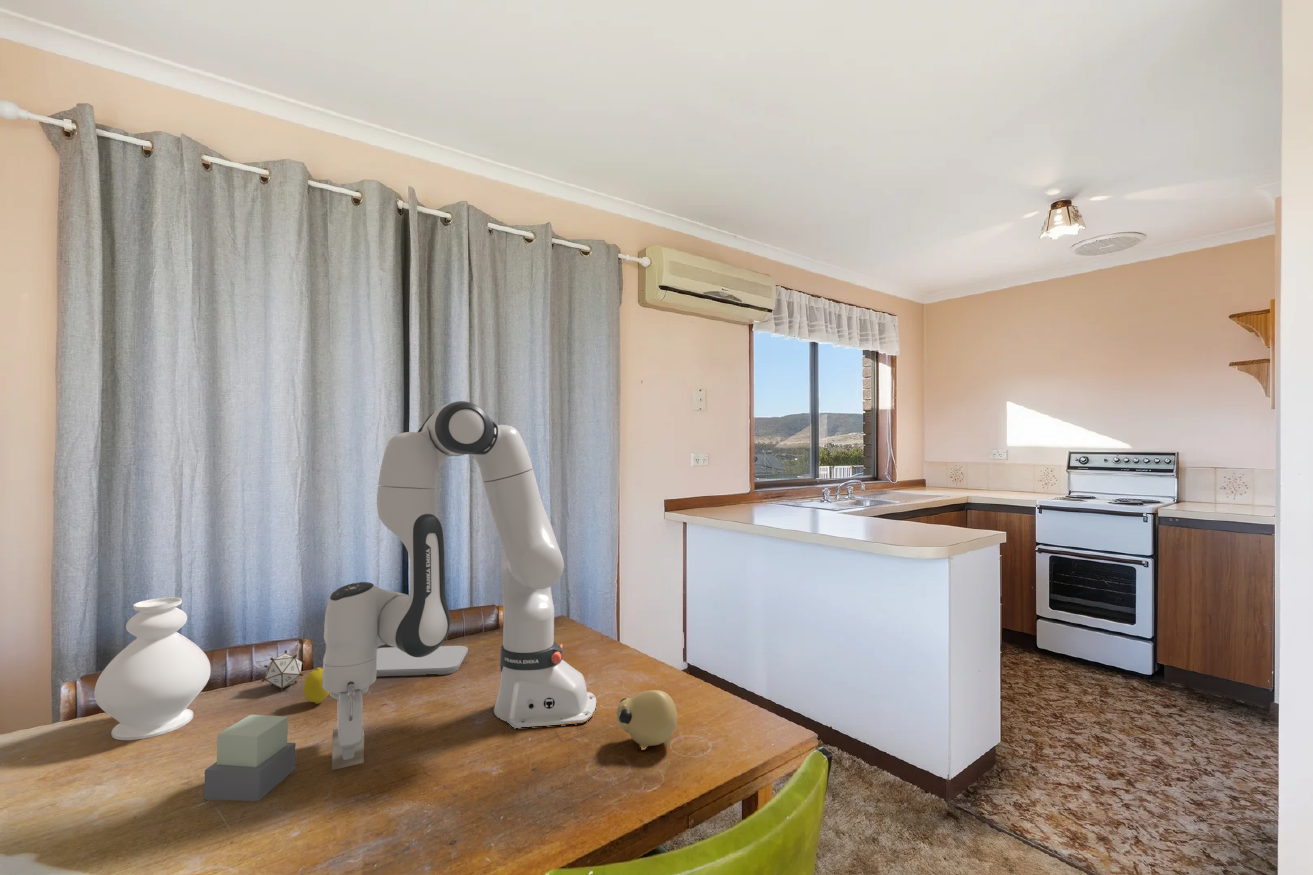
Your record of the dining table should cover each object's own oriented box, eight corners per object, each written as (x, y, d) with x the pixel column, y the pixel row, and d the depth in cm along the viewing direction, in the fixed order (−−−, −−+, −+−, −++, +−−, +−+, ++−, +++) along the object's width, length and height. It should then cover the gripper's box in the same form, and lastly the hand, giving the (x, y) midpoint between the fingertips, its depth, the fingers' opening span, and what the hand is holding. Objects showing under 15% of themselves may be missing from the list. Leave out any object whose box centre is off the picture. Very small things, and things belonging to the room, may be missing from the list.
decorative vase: (164, 701, 127) (168, 588, 127) (230, 710, 123) (234, 594, 124) (67, 741, 110) (72, 610, 110) (140, 753, 106) (145, 617, 106)
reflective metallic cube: (363, 762, 104) (364, 735, 104) (331, 770, 102) (332, 741, 102) (362, 750, 108) (363, 723, 109) (332, 756, 106) (332, 729, 106)
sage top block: (287, 745, 101) (288, 716, 101) (256, 767, 94) (257, 736, 94) (249, 742, 101) (250, 714, 101) (216, 764, 94) (217, 734, 94)
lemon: (337, 699, 130) (338, 663, 130) (320, 710, 124) (321, 673, 124) (314, 697, 130) (315, 662, 130) (296, 708, 125) (298, 671, 125)
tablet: (457, 676, 145) (457, 667, 145) (348, 679, 141) (348, 670, 141) (469, 653, 161) (469, 645, 161) (372, 656, 157) (372, 647, 157)
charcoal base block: (294, 771, 101) (295, 742, 102) (258, 802, 92) (259, 771, 93) (244, 769, 102) (245, 741, 102) (203, 801, 93) (205, 769, 93)
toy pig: (618, 731, 118) (619, 679, 118) (676, 732, 117) (677, 680, 118) (613, 756, 108) (614, 700, 108) (677, 758, 107) (678, 701, 108)
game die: (276, 707, 133) (247, 681, 128) (280, 681, 140) (253, 656, 135) (314, 685, 135) (287, 659, 130) (316, 660, 142) (291, 635, 138)
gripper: (372, 691, 98) (370, 773, 98) (366, 653, 116) (364, 721, 115) (330, 699, 95) (327, 783, 94) (330, 658, 113) (328, 729, 112)
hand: (347, 749), depth 105 cm, fingers closed on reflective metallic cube, 5 cm apart
